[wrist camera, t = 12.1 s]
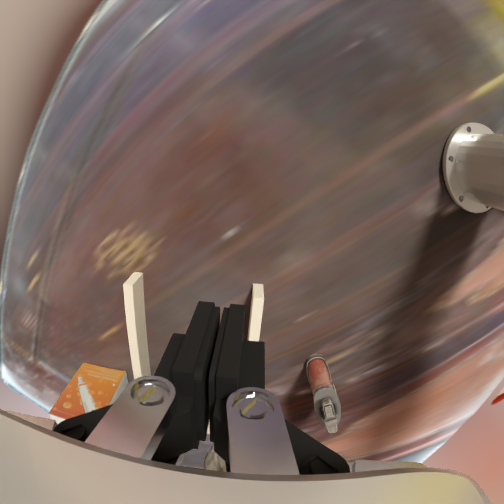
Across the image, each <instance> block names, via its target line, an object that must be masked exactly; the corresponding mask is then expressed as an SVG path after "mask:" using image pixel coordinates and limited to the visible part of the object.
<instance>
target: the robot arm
mask: <svg viewBox="0 0 504 504" xmlns="http://www.w3.org/2000/svg"><path fill="white" fill-rule="evenodd" d="M443 176H444V180H445V184H446V187H447V190H448V192H449V194H450V196H451V197H452V199H453V201H454V202H455V203H456V204H457V205H458V206H459V207H461V208H462V209H464V210H466V211H469V212H473V213H482V212H485V211H487V210H489V209H490V208H496V209H498V210H501V211H504V134H494V133H493V132H492V131H491V130H490V129H489V128H488V127H486V126H484V125H483V124H479V123H465V124H462V125H460V126H458V127H457V128H456V129H455V130H454V131H453V132H452V133H451V135H450V136H449V138H448V140H447V142H446V145H445V149H444V154H443ZM244 321H245V305H236V304H230V308H225V307H224V310H223V315H222V319H221V323H220V307H215V304H214V303H213V302H202V301H199V302H198V305H197V307H196V310H195V312H194V315H193V317H192V320H191V322H190V325H189V327H188V330H187V333H186V335H185V334H177V333H174V334H173V335H172V337H171V339H170V341H169V344H168V346H167V348H166V350H165V352H164V355H163V357H162V359H161V361H160V364H159V366H158V368H157V370H156V373H155V375H151V376H142V377H138V378H136V379H134V380H133V381H131V382H130V383H129V384H128V385H127V387H126V388H125V389H124V390H123V392H122V393H121V394H120V396H119V397H118V398H117V400H116V401H115V402H114V403H113V404H111V405H108V406H105V407H102V408H99V409H96V410H93V411H90V412H87V413H84V414H81V415H78V416H75V417H72V418H69V419H66V420H64V421H62V422H60V423H59V424H58V423H56V421H55V420H53V419H47V418H41V417H35V416H30V415H25V414H20V413H15V412H11V411H3V410H1V409H0V504H491V502H490V500H489V499H488V497H487V496H486V494H485V492H484V491H483V489H482V488H481V487H480V485H479V484H478V483H477V482H476V481H475V480H473V479H472V478H471V477H470V476H468V475H466V474H464V473H461V472H458V471H454V470H449V469H440V468H430V467H426V466H424V465H423V464H421V463H417V462H393V461H374V460H361V459H356V460H355V461H354V462H347V461H346V460H345V459H344V458H342V457H341V456H340V455H339V454H337V453H335V452H334V451H332V450H331V449H329V448H327V447H326V446H324V445H323V444H321V443H320V442H318V441H316V440H315V439H313V438H312V437H310V436H309V435H307V434H306V433H304V432H303V431H301V430H300V429H298V428H297V427H295V426H294V425H293V424H291V423H290V422H288V421H287V420H285V419H284V416H283V412H282V409H281V405H280V402H279V400H278V398H277V397H276V396H275V395H274V394H273V393H271V392H269V391H267V390H265V349H264V342H260V341H246V340H243V335H244ZM219 327H220V328H219ZM209 423H210V442H214V451H215V452H216V453H217V454H218V455H219V456H220V457H221V458H222V459H223V460H224V461H225V472H222V471H213V470H205V469H197V468H190V467H184V466H181V464H182V462H183V458H184V453H185V452H187V451H189V450H191V449H193V448H194V449H198V445H199V440H201V441H205V440H206V435H207V430H208V424H209Z"/></svg>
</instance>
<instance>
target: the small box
mask: <svg viewBox="0 0 504 504" xmlns="http://www.w3.org/2000/svg"><path fill="white" fill-rule="evenodd" d="M127 385H128V379H127V374H126V371H121V370H115V369H110V368H105V367H100V366H96V365H92V364H88V363H83V364H82V365H81V367H80V368H79V370H78V371H77V372H76V374H75V375H74V377H73V378H72V379H71V381H70V382H69V384H68V385H67V387H66V388H65V390H64V391H63V393H62V394H61V396H60V397H59V399H58V400H57V402H56V403H55V405H54V406H53V408H52V409H51V411H50V412H49V416H50V418H51V419H53V420H55V421H56V423H58V424H59V423H60V422H62V421H64V420H66V419H69V418H72V417H75V416H78V415H81V414H84V413H87V412H90V411H93V410H96V409H99V408H102V407H105V406H108V405H111V404H113V403H114V402H115V401H116V400H117V398H118V397H119V396H120V394H121V393H122V392H123V390H124V389H125V388H126V387H127Z"/></svg>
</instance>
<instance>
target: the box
mask: <svg viewBox="0 0 504 504" xmlns="http://www.w3.org/2000/svg"><path fill="white" fill-rule="evenodd" d="M123 289H124V301H125V312H126V322H127V331H128V339H129V347H130V354H131V361H132V368H133V374H134V379H136V378H138V377H142V376H151V372H150V363H149V354H148V343H147V332H146V319H145V305H144V286H143V273H139V272H134V273H133V274H132V275H131V276H130V277H129V278H128V280H127V281H126V282H125V283H124V284H123ZM263 304H264V292H263V284H254V283H253V289H252V299H251V309H250V319H249V328H248V338H247V341H259V336H260V328H261V320H262V312H263ZM207 434H210V423H209V424H208V430H207Z"/></svg>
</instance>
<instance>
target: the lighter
mask: <svg viewBox="0 0 504 504" xmlns="http://www.w3.org/2000/svg"><path fill="white" fill-rule="evenodd" d="M306 372H307V378H308V382H309V384H310V387H311V389H312V393H313V402H314V409H315V413H316V415H317V418H318V420H319V422H320V423H321V425H322V426H324V427H327V428H328V432H329V433H334V432H336V431H337V424H338V423H339V421H340V416H341V406H340V402H339V399H338V396H337V393H336V390H335V387H334V384H333V382H331V375H330V371H329V368H328V365H327V363H326V361H325V359H324V357H323V356H322V355H321V354H313V355H311V356H309V357H308V358H307V360H306Z"/></svg>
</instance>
